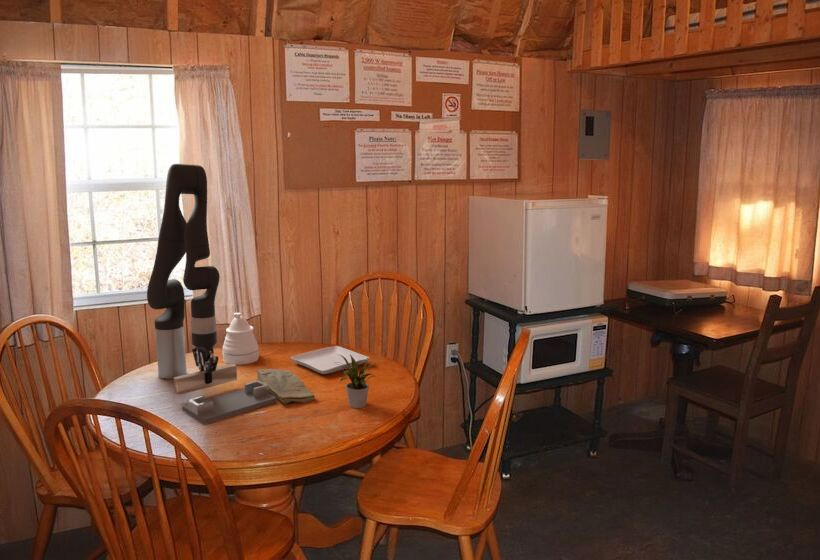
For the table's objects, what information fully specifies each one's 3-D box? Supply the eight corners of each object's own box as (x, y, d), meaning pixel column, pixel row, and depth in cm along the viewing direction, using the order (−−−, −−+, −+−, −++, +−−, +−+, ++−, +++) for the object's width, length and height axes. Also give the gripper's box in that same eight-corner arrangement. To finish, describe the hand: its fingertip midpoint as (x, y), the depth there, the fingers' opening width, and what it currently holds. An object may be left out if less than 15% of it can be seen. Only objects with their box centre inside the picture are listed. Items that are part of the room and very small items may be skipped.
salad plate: (289, 364, 242) (288, 355, 241) (336, 352, 256) (336, 344, 255) (322, 380, 226) (322, 370, 226) (371, 366, 240) (371, 357, 240)
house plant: (320, 407, 202) (319, 355, 199) (348, 393, 214) (347, 344, 210) (358, 417, 195) (358, 364, 191) (385, 402, 206) (384, 351, 203)
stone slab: (286, 364, 233) (317, 388, 207) (287, 375, 234) (317, 401, 208) (251, 369, 227) (278, 394, 201) (252, 380, 228) (279, 408, 202)
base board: (182, 410, 199) (181, 405, 199) (252, 390, 216) (252, 385, 215) (204, 424, 189) (204, 419, 189) (276, 402, 206) (276, 397, 205)
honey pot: (254, 364, 240) (251, 316, 237) (218, 364, 241) (216, 316, 237) (262, 353, 253) (260, 308, 249) (228, 353, 253) (226, 307, 250)
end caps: (188, 409, 196) (187, 399, 195) (258, 389, 212) (258, 380, 212) (197, 415, 192) (197, 405, 191) (269, 394, 208) (268, 385, 208)
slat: (174, 392, 205) (173, 377, 204) (233, 377, 219) (232, 363, 217) (178, 395, 203) (177, 379, 202) (236, 380, 217) (236, 365, 216)
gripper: (225, 332, 205) (227, 385, 208) (204, 322, 214) (207, 373, 218) (203, 337, 199) (205, 391, 203) (182, 326, 209) (185, 378, 213)
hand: (206, 381), depth 211 cm, fingers closed on slat, 2 cm apart
